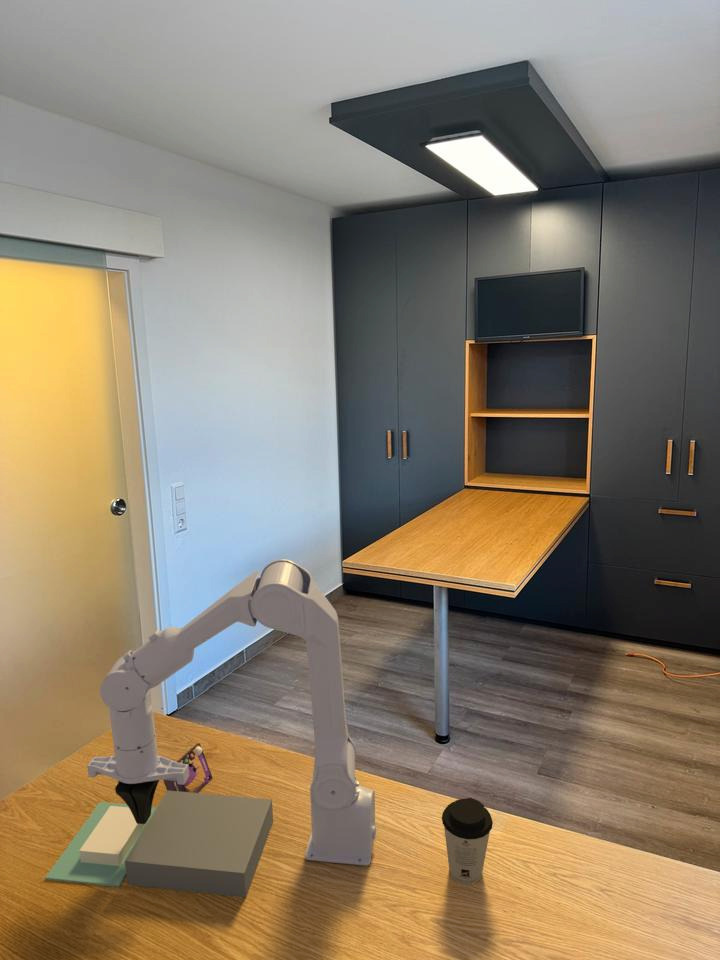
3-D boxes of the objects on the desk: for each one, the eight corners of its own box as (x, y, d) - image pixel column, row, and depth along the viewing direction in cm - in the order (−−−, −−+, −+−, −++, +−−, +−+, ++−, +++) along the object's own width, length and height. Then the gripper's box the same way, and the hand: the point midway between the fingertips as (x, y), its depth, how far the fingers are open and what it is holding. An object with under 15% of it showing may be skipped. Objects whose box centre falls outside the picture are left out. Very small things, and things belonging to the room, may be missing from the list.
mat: (164, 809, 106) (164, 807, 106) (119, 887, 92) (118, 885, 92) (100, 803, 108) (100, 801, 107) (45, 879, 93) (45, 877, 93)
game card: (166, 775, 104) (202, 742, 112) (143, 775, 107) (180, 743, 115) (180, 813, 105) (216, 778, 113) (157, 813, 107) (193, 778, 115)
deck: (273, 821, 103) (271, 799, 102) (246, 897, 90) (244, 873, 89) (169, 811, 105) (167, 790, 104) (127, 884, 92) (124, 860, 91)
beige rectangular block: (110, 805, 104) (111, 816, 104) (79, 850, 95) (80, 862, 96) (146, 809, 103) (148, 819, 103) (118, 854, 94) (120, 866, 95)
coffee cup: (472, 901, 89) (474, 838, 86) (430, 872, 93) (431, 811, 91) (500, 869, 93) (503, 809, 91) (459, 843, 98) (461, 786, 96)
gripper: (193, 724, 97) (200, 803, 100) (101, 718, 99) (111, 795, 102) (174, 755, 90) (182, 839, 94) (75, 748, 92) (86, 830, 96)
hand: (143, 818), depth 98 cm, fingers closed
